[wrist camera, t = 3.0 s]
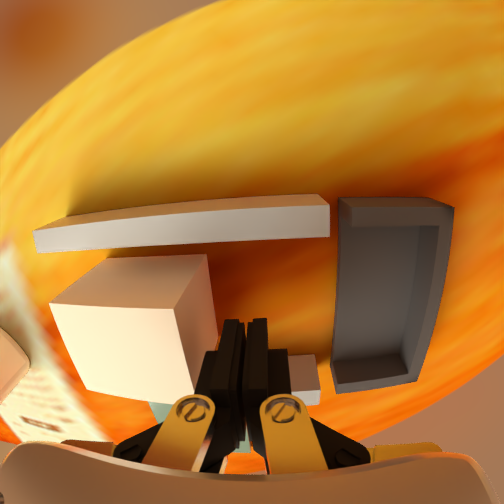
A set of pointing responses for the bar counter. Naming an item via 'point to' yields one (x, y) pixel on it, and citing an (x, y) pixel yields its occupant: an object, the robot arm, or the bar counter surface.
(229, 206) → the channel
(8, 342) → the eye dropper bottle
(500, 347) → the bar counter surface
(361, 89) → the bar counter surface
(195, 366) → the cream block
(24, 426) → the bar counter surface
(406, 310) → the tray
